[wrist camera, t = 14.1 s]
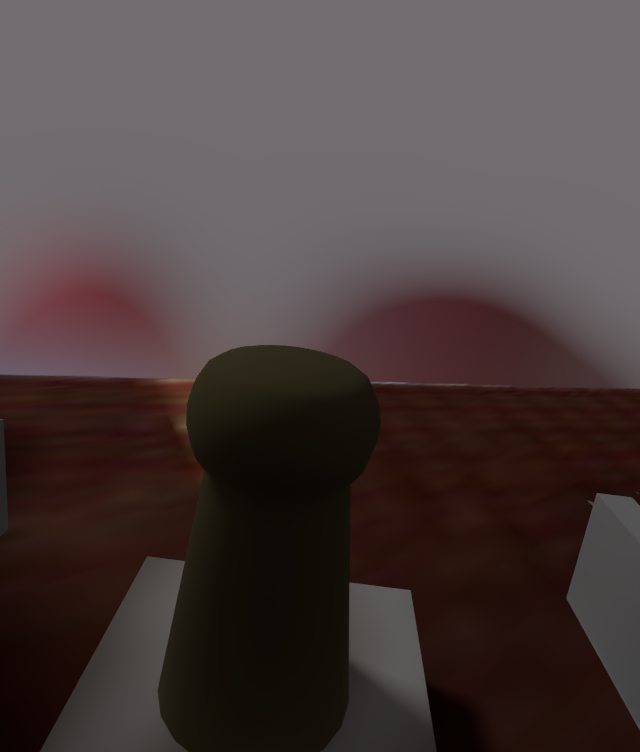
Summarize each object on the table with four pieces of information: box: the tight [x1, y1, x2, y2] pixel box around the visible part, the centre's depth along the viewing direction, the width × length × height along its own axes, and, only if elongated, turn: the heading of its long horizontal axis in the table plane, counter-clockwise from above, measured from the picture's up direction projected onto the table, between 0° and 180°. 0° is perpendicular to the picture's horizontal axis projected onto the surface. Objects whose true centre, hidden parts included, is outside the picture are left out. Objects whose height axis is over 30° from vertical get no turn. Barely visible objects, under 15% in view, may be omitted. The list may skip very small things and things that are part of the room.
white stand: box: [40, 557, 437, 752], centre depth 20 cm, size 11×11×4 cm
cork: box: [157, 345, 380, 752], centre depth 17 cm, size 6×6×11 cm
